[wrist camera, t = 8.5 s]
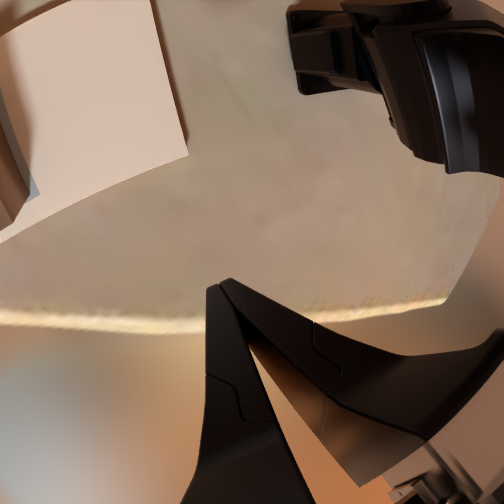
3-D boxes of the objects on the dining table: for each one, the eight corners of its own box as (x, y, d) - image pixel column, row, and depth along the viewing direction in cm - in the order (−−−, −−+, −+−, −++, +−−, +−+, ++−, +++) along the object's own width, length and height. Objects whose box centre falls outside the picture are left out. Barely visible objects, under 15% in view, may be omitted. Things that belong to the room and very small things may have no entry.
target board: (142, -19, 11) (144, -24, 10) (185, 151, 18) (188, 155, 18) (-91, 118, 7) (-99, 121, 6) (-31, 258, 14) (-35, 266, 13)
